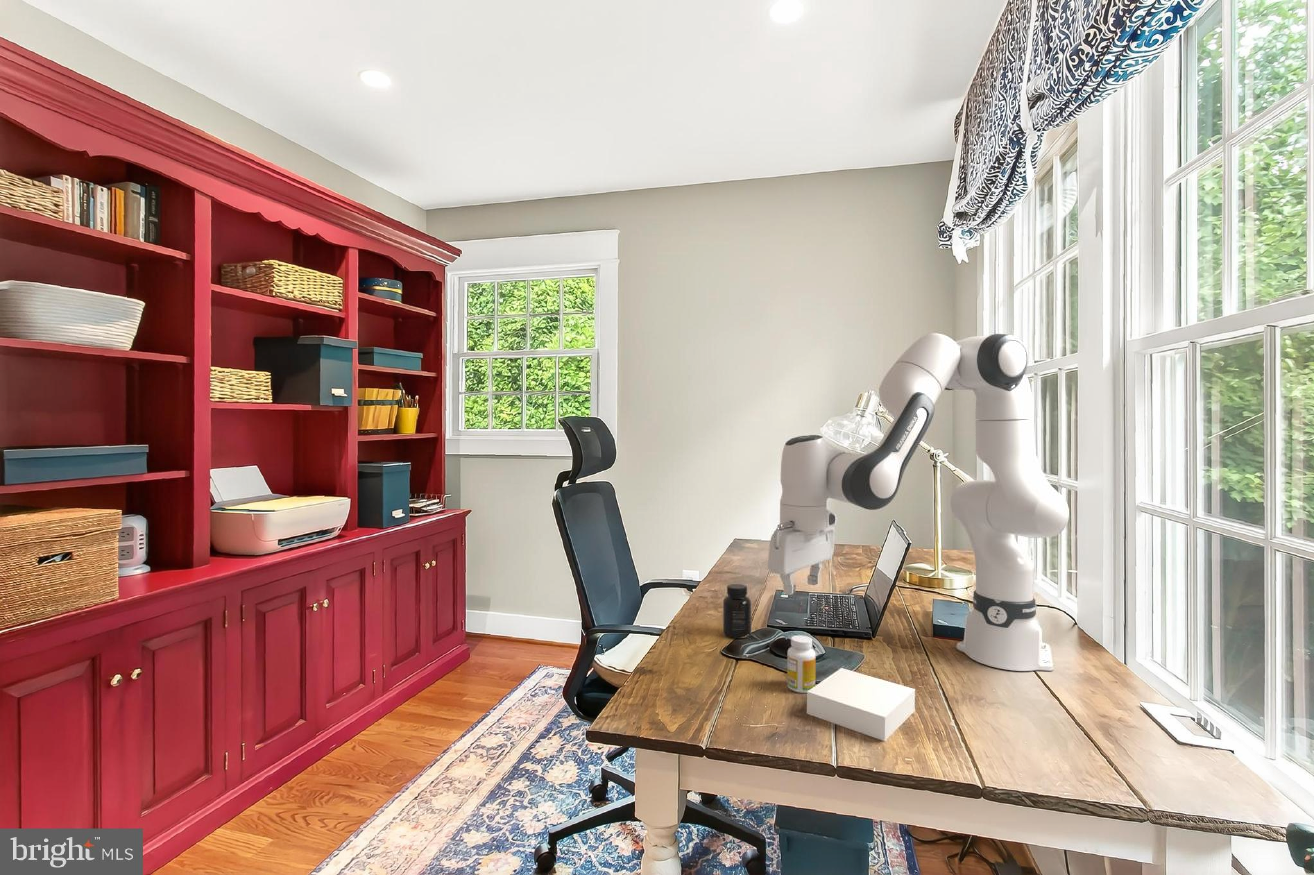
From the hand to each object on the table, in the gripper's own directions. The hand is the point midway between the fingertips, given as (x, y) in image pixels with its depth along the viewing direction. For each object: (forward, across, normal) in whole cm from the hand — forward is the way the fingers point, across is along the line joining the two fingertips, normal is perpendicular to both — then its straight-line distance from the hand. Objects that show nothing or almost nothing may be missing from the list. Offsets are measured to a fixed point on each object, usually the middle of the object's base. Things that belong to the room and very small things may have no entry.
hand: (801, 589), depth 119 cm
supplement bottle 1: (+20, +16, +26) cm, 36 cm away
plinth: (+20, -2, -13) cm, 24 cm away
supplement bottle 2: (+20, 0, 0) cm, 20 cm away
